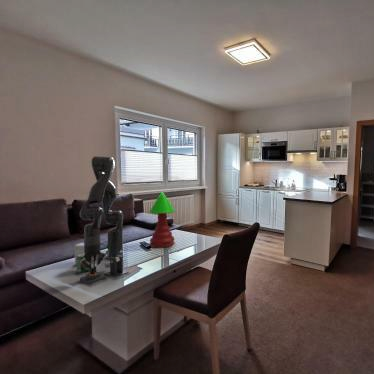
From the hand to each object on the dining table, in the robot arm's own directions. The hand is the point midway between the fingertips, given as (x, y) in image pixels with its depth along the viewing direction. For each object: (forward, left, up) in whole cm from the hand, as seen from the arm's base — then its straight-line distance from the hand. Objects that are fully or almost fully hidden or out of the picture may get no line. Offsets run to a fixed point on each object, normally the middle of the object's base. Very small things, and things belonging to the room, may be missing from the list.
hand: (92, 273), depth 128 cm
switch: (+1, +11, +1) cm, 11 cm away
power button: (0, 0, -2) cm, 2 cm away
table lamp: (-16, +67, -4) cm, 69 cm away
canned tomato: (-16, +5, -4) cm, 17 cm away
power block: (0, 0, -4) cm, 4 cm away
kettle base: (+4, +11, -4) cm, 12 cm away
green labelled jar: (-30, +13, -4) cm, 33 cm away
